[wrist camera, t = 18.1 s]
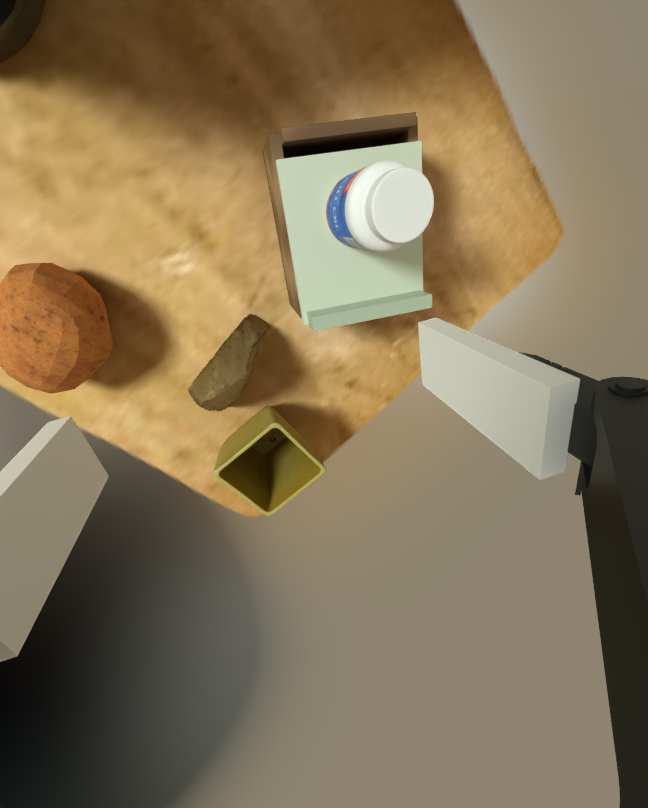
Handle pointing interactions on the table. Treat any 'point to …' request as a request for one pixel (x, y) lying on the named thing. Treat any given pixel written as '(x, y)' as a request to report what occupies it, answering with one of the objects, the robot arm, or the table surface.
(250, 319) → the rock
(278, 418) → the flower pot
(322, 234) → the lid
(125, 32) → the table surface
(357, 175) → the pill bottle
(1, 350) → the potato
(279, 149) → the box
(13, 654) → the robot arm
